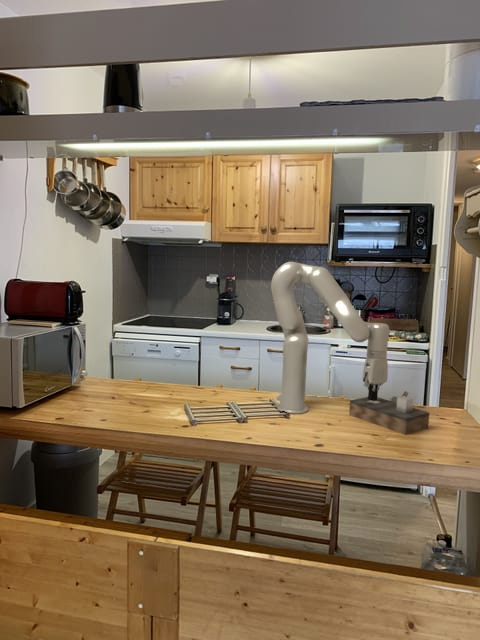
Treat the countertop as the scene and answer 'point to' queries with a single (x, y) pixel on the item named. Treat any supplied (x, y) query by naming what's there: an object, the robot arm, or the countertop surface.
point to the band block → (389, 415)
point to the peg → (404, 404)
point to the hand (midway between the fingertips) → (372, 399)
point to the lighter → (394, 399)
